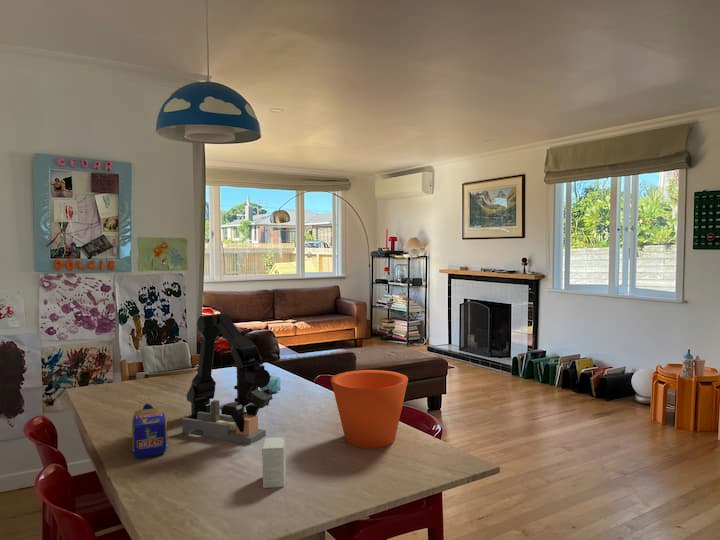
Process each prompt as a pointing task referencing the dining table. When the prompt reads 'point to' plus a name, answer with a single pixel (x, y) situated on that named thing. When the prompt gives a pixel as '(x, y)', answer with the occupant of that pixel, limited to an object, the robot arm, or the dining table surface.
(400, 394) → the flowerpot
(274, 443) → the small box
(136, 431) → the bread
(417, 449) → the dining table surface
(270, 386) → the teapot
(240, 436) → the channel
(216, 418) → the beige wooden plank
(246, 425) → the terracotta block
